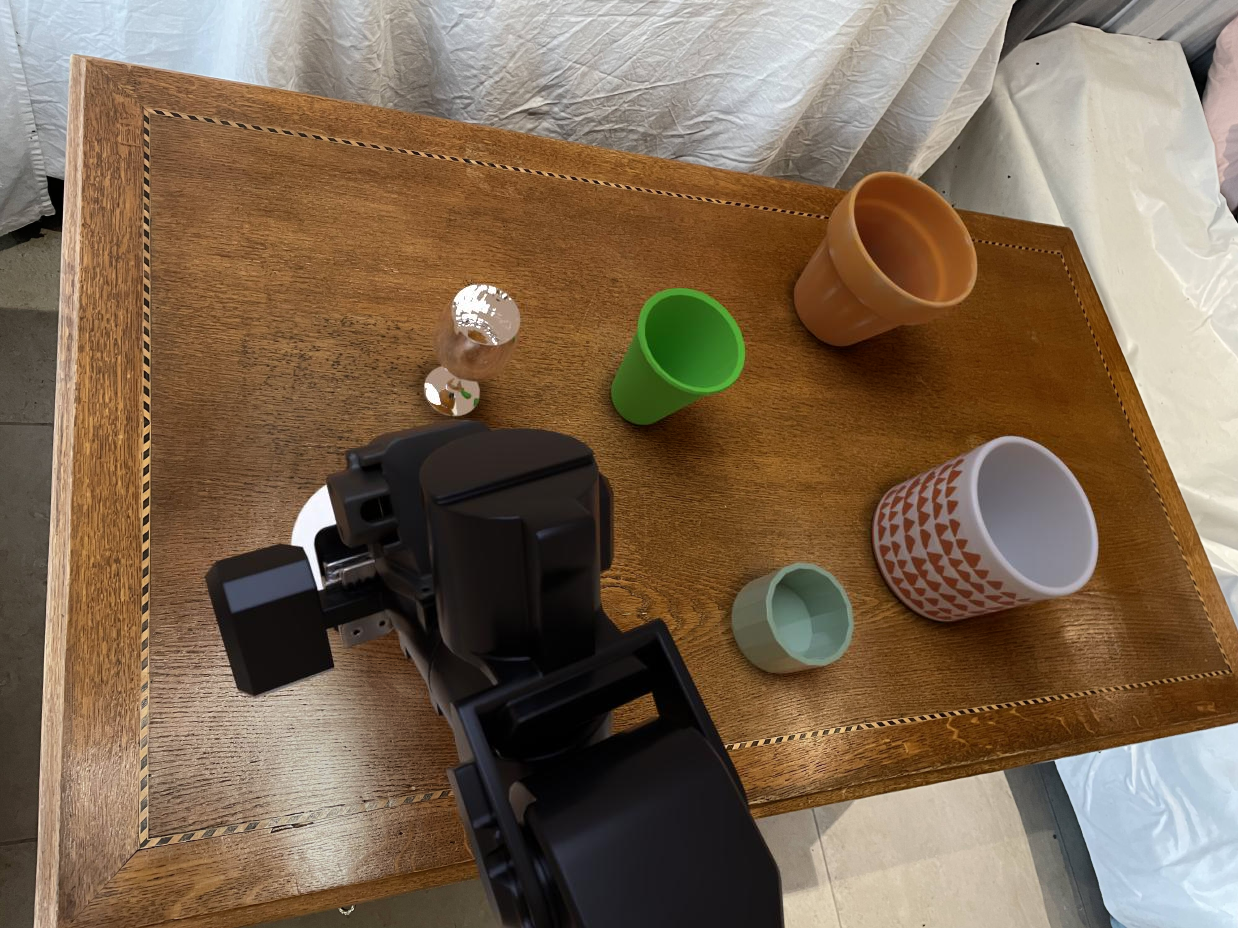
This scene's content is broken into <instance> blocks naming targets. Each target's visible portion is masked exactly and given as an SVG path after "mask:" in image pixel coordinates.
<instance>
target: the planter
mask: <svg viewBox="0 0 1238 928" xmlns="http://www.w3.org/2000/svg"><path fill="white" fill-rule="evenodd" d="M871 544H872V551H873V554H874V558H875V561H876V564H877V567H878V569H879V572H880V574H881V575H882V578H883V579H884V581H885V583H886V584H887V586H888V587H889V589H890V590H891V591H892V593H893V594H894V595H895V596H896V598H898V600H899V601H900V602H902V603H903V605H905V606H906V607H908V608H909V609H910V610H911V611H913V612H915V613H916V614H918V615H920V616H922V617H924V618H927V619H929V620H932V621H936V622H937V621H938V622H955V621H960V620H964V619H968V618H973V617H978V616H982V615H987V614H990V613H995V612H999V611H1004V610H1009V609H1012V608H1017V607H1021V606H1026V605H1030V604H1033V603H1038V602H1043V601H1047V600H1052V599H1057V598H1060V597H1065V596H1068V595H1071V594H1074V593H1076V592H1078V591H1080V589H1083V587H1085V585H1086V584H1088V582H1089V581H1090V579H1091V578H1092V576H1093V574H1094V572H1095V569H1096V566H1097V563H1098V557H1099V533H1098V528H1097V522H1096V518H1095V515H1094V512H1093V509H1092V506H1091V504H1090V502H1089V498H1088V496H1087V494H1086V493H1085V491H1084V489H1083V487H1082V485H1081V483H1080V482H1079V481H1078V480H1077V478H1076V476H1075V475H1074V474H1073V472H1072V471H1071V470H1070V468H1068V466H1067V465H1066V464H1065V462H1063V461H1062V459H1060V458H1059V457H1058V456H1056V455H1055V454H1054V453H1053V452H1052V451H1051V450H1049V449H1048V448H1046V447H1044V446H1043V445H1042V444H1040V443H1038V442H1036V441H1034V440H1031V439H1028V438H1025V437H1022V436H1016V435H1009V436H1008V435H1005V436H1000V437H997V438H994V439H992V440H990V441H988V442H985V443H984V444H981V445H979V446H977V447H975V448H973V449H971V450H968V451H967V452H964V453H962V454H959V455H957V456H956V457H954V458H951V459H950V460H947V461H944V462H943V463H941V464H939V465H937V466H935V467H932V468H930V469H928V470H926V471H923V472H921V473H919V474H918V475H915V476H913V477H911V478H909V479H907V480H905V481H902V482H901V483H898V484H897V485H895V486H893V487H891V488H890V489H889V490H888V491H886V493H884V494H883V496H882V497H881V499H880V500H879V502H878V503H877V505H876V508H875V510H874V513H873V516H872V522H871Z"/></svg>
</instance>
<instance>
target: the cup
mask: <svg viewBox="0 0 1238 928" xmlns="http://www.w3.org/2000/svg"><path fill="white" fill-rule="evenodd" d="M745 345H746V344H745V341H744V337H743V334H742V331H741V329H740V327H739V325H738V323H737V322H736V319H734V317H733V315H731V313H730V312H729V311H728V310H727V309H726V307H724V306H723V305H722V304H720V303H719V302H718V301H717V300H716V299H714V298H713V297H712V296H709V295H707V294H706V293H704V292H701V291H699V290H695V289H693V288H684V287H675V288H668V289H665V290H662V291H659V292H656V293H655V294H653V296H651V297H650V298H649V299H648V300H646V302H645V304H644V305H643V306H642V308H641V310H640V313H639V317H638V320H637V329H636V331H635V333H634V335H633V338H632V339H631V341H630V344H629V346H628V348H627V351H626V353H625V355H624V357H623V359H622V361H621V364H620V365H619V368H618V370H617V372H616V374H615V376H614V379H613V381H612V384H611V387H610V396H611V401H612V405H613V407H614V409H615V411H616V412H617V413H618V414H619V416H620V417H622V418H623V419H624V420H625V421H628V422H630V423H632V424H635V425H642V426H643V425H644V426H648V425H652V424H654V423H657V422H658V421H660V420H662V419H664V418H666V417H668V416H670V415H671V414H674V413H676V412H677V411H679V410H680V409H683V408H684V407H686V406H689V405H690V404H693V403H694V402H696V401H698V400H700V399H702V398H704V397H705V396H710V395H716V394H720V393H722V392H724V391H726V390H728V389H730V388H731V387H732V386H733V385H734V384H735V383H736V382H737V381H738V379H739V378H740V377H741V374H742V372H743V370H744V365H745V360H746V346H745Z"/></svg>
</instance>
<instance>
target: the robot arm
mask: <svg viewBox="0 0 1238 928" xmlns="http://www.w3.org/2000/svg"><path fill="white" fill-rule="evenodd" d="M344 458H345V461H346V462H345V463H346V466H345V468H344V469H343V470H342V471H337V472H334V473H330V474H328V475H327V476H326V478H325V482H326V484H327V489H328V493H329V497H330V501H331V505H332V509H333V512H334V516H335V520H336V524H334V525H331V526H327V527H324V528H322V529H321V530H319V531H318V532H317V534H316V536H315V539H314V549H315V554H316V558H317V563H318V567H319V572H320V577H321V581H322V586H323V589H321V590H318V588H317V585H316V581H315V578H314V575H313V572H312V569H311V566H310V562H309V559H308V557H307V555H306V553H305V550H304V548H303V547H301V546H294V545H290V544H286V543H276V544H273V545H269V546H266V547H262V548H258V549H255V550H251V551H248V552H245V553H241V554H237V555H233V556H230V557H226V558H222V559H219V560H216V561H215V562H214V563H213V564H212V566H211V567H210V568H209V569H208V570H207V572H206V573H205V575H204V580H205V583H206V588H207V592H208V595H209V599H210V603H211V606H212V610H213V613H214V617H215V620H216V623H217V627H218V630H219V633H220V636H221V640H222V643H223V647H224V650H225V653H226V656H227V660H228V663H229V666H230V670H231V673H232V676H233V679H234V683H235V686H236V690H237V692H240V693H241V694H244V695H246V696H249V697H251V698H253V699H258V698H261V697H265V696H267V695H269V694H272V693H275V692H279V691H281V690H283V689H286V688H289V687H292V686H295V685H297V684H301V683H303V682H306V681H308V680H311V679H314V678H317V677H320V676H322V675H323V676H324V675H325V674H328V673H331V672H333V671H334V670H335V668H336V666H335V662H334V661H335V660H334V656H333V652H332V648H331V643H330V639H329V633H328V630H330V629H333V630H334V631H335V632H337V633H339V635H340V639H341V643H342V645H343V647H344V648H347V649H348V648H349V649H350V648H353V647H356V646H358V645H361V644H365V643H367V642H370V641H372V640H373V641H374V640H375V639H378V638H382V637H383V636H387V635H389V634H390V633H391V632H392V631H394V630H395V632H396V633H397V635H398V641H399V646H400V649H401V651H402V653H403V654H404V656H405V658H406V660H410V659H412V661H413V663H414V664H415V666H416V668H417V670H418V672H419V673H420V676H421V677H422V678H423V681H424V683H425V684H426V686H427V688H428V693H429V699H430V703H431V705H432V707H433V709H434V711H435V713H436V714H437V716H438V717H441V716H444V718H445V720H446V721H447V723H448V725H449V727H450V729H451V730H452V732H453V735H454V741H455V747H456V748H455V749H456V752H457V755H458V759H459V763H457V764H455V765H453V766H450V767H448V768H446V769H445V772H446V776H447V779H448V781H449V784H450V787H451V791H452V794H453V797H454V800H455V803H456V805H457V806H456V807H457V809H458V813H459V815H460V818H461V821H462V822H461V823H462V824H463V828H464V830H465V834H466V837H467V840H468V844H469V846H470V849H471V852H472V855H473V858H474V861H475V864H476V868H477V871H478V874H479V876H480V880H481V883H482V886H483V889H484V892H485V895H486V898H487V901H488V904H489V907H490V910H491V912H492V914H493V917H494V919H495V921H496V922H497V925H498V926H499V927H500V928H786V926H785V925H786V924H785V923H786V922H785V910H784V909H785V908H784V897H783V882H782V881H783V880H782V875H781V870H780V868H779V866H778V863H777V861H776V859H775V857H774V855H773V854H772V851H771V849H770V848H769V846H768V844H767V842H766V840H765V838H764V837H763V834H762V832H761V830H760V828H759V827H758V824H757V823H756V820H755V819H754V817H753V815H752V813H751V807H750V803H749V799H748V795H747V792H746V789H745V786H744V784H743V782H742V778H741V777H740V775H739V773H738V770H737V768H736V766H735V764H734V762H733V760H732V758H731V756H730V754H729V752H728V750H727V747H726V746H725V743H724V741H723V739H722V737H721V735H720V733H719V731H718V729H717V727H716V724H715V722H714V721H713V719H712V716H711V714H710V713H709V710H708V708H707V706H706V704H705V702H704V700H703V698H702V695H701V694H700V692H699V690H698V688H697V686H696V684H695V681H694V679H693V678H692V675H691V673H690V671H689V669H688V667H687V665H686V663H685V661H684V659H683V656H682V654H681V653H680V650H679V648H678V646H677V644H676V642H675V640H674V638H673V635H672V633H671V631H670V629H669V627H668V626H667V623H666V622H665V621H664V620H663V619H662V618H661V617H657V618H655V619H653V620H651V621H650V620H649V621H648V622H645V623H643V624H640V625H638V626H635V627H633V628H631V629H628V630H626V631H622V630H621V629H620V628H619V627H618V626H617V625H616V624H615V623H614V622H613V620H611V618H610V617H609V616H608V615H607V612H605V610H604V608H603V604H602V587H601V586H602V585H601V583H602V581H601V575H602V574H604V573H606V572H607V571H609V570H610V569H611V568H612V565H613V561H614V558H615V497H614V496H615V493H614V490H613V488H612V485H611V483H610V481H609V478H608V477H607V476H605V475H604V474H603V473H602V472H600V471H599V470H600V469H599V468H600V467H599V465H598V462H597V460H596V458H595V456H594V450H593V448H591V447H590V446H588V444H587V443H585V442H583V441H581V440H579V439H577V438H576V437H574V436H571V435H568V434H564V433H561V432H559V431H552V430H547V429H541V428H527V427H516V428H499V429H493V430H492V429H491V427H490V426H488V424H486V423H484V422H482V421H479V420H470V419H457V418H456V419H455V418H449V419H442V420H439V421H435V422H430V423H426V424H422V425H419V426H414V427H409V428H405V429H402V430H396V431H395V430H394V431H390V432H386V433H382V434H379V435H377V436H376V437H374V438H372V440H370V441H369V443H368V444H367V445H361V446H357V447H354V448H350V449H346V450H344ZM326 484H325V485H326ZM650 693H651V695H652V699H653V702H654V705H655V708H656V712H657V715H658V716H655V715H654V716H652V715H651V716H650V717H648V718H645V719H644V720H642V721H639V722H637V723H635V724H633V725H631V726H629V727H627V728H625V729H623V730H621V731H618V732H617V733H614V726H615V713H614V712H615V710H616V709H618V708H620V707H623V706H624V705H627V704H628V703H632V702H634V701H635V700H636V701H637V699H640V698H642V697H644V696H647V695H648V694H650Z"/></svg>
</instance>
